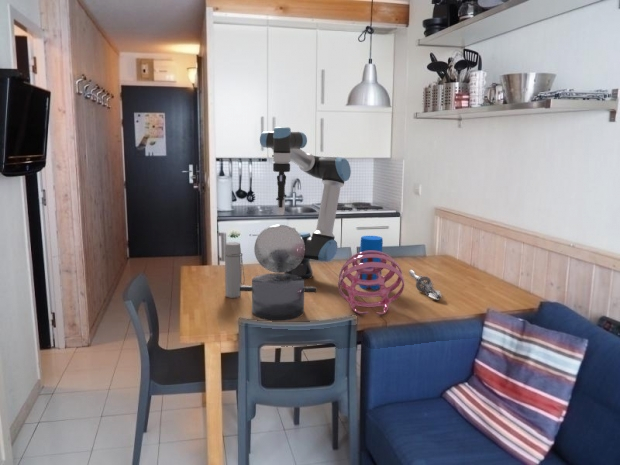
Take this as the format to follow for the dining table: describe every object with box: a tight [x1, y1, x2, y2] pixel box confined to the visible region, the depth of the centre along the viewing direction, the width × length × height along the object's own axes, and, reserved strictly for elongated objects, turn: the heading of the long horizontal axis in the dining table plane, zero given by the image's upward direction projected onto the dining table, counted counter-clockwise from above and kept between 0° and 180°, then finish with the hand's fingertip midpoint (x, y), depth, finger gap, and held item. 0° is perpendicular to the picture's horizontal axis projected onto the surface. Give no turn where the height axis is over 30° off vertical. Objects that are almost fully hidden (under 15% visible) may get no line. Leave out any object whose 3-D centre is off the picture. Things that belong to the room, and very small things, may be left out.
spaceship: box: [408, 269, 442, 301], centre depth 252 cm, size 8×35×8 cm
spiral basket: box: [337, 250, 405, 316], centre depth 220 cm, size 28×28×27 cm
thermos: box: [358, 235, 383, 291], centre depth 256 cm, size 11×11×25 cm
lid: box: [253, 224, 305, 273], centre depth 226 cm, size 22×22×4 cm
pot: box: [240, 272, 317, 322], centre depth 219 cm, size 22×32×14 cm
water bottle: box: [224, 241, 246, 299], centre depth 237 cm, size 9×8×25 cm
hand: (281, 212), depth 232 cm, fingers open, 9 cm apart
